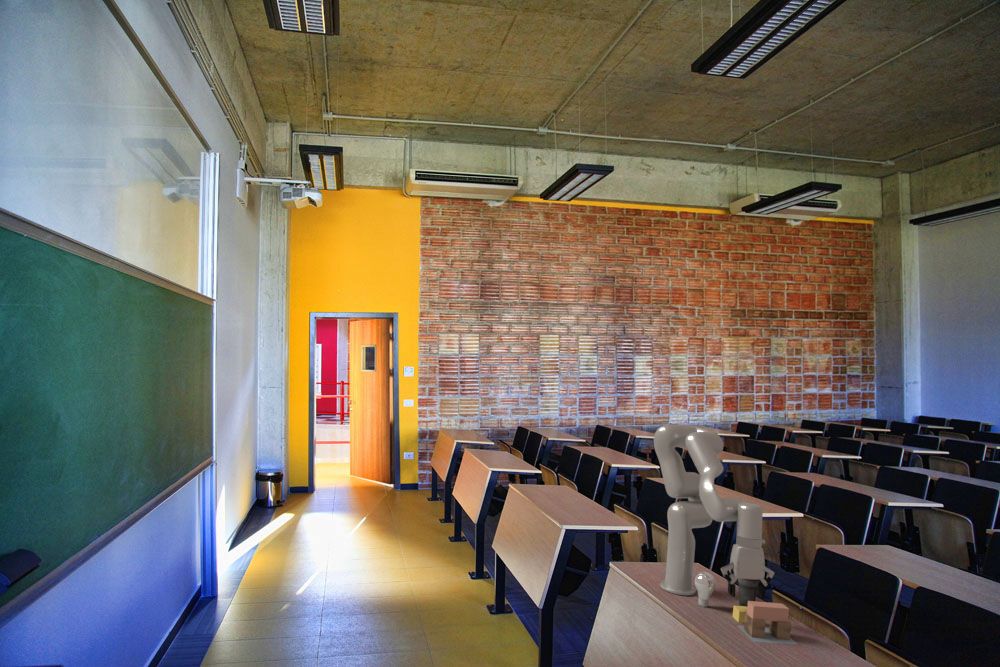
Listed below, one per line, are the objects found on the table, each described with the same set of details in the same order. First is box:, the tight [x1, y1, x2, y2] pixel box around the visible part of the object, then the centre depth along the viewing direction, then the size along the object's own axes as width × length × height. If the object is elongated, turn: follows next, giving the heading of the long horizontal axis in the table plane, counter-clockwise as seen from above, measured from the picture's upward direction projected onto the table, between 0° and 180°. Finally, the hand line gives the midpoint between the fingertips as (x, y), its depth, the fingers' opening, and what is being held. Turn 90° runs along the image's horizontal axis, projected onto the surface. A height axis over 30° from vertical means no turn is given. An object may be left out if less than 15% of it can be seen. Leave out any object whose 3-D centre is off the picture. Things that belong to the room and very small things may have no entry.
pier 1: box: [743, 613, 766, 638], centre depth 186 cm, size 5×4×5 cm
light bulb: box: [693, 571, 717, 608], centre depth 206 cm, size 7×7×12 cm
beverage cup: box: [737, 578, 760, 607], centre depth 207 cm, size 7×7×20 cm
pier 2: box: [768, 620, 792, 640], centre depth 187 cm, size 5×4×5 cm
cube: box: [732, 605, 747, 624], centre depth 196 cm, size 4×4×4 cm
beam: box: [747, 600, 790, 622], centre depth 187 cm, size 11×4×4 cm, turn 92°
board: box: [736, 624, 799, 646], centre depth 186 cm, size 11×14×1 cm
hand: (746, 596), depth 196 cm, fingers open, 9 cm apart
